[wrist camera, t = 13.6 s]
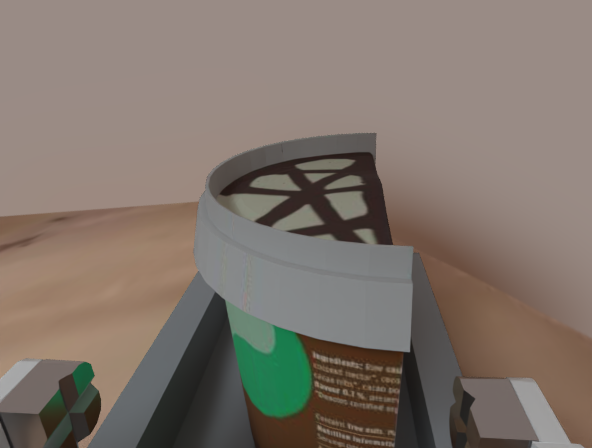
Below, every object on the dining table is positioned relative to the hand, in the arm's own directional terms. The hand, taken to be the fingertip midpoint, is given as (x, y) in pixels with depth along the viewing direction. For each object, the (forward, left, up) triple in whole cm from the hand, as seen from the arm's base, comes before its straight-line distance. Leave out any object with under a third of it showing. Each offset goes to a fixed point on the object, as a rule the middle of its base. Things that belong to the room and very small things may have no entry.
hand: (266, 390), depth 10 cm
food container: (0, +6, -7) cm, 9 cm away
